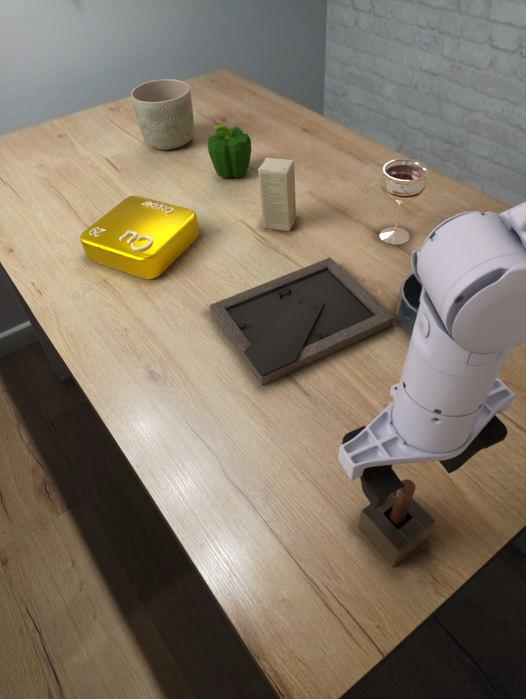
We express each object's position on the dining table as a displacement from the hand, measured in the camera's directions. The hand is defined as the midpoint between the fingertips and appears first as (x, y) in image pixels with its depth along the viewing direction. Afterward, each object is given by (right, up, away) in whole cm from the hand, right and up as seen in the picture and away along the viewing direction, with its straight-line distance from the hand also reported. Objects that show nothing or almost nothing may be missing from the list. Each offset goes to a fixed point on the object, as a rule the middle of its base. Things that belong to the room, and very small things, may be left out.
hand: (408, 480), depth 45 cm
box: (-10, +34, +46) cm, 58 cm away
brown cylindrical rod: (+1, -7, +8) cm, 11 cm away
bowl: (+12, +16, +28) cm, 35 cm away
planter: (-34, +58, +70) cm, 97 cm away
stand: (+1, -7, +8) cm, 11 cm away
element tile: (-33, +29, +44) cm, 62 cm away
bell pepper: (-19, +47, +59) cm, 78 cm away
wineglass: (+9, +31, +42) cm, 53 cm away
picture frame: (-7, +16, +30) cm, 34 cm away
